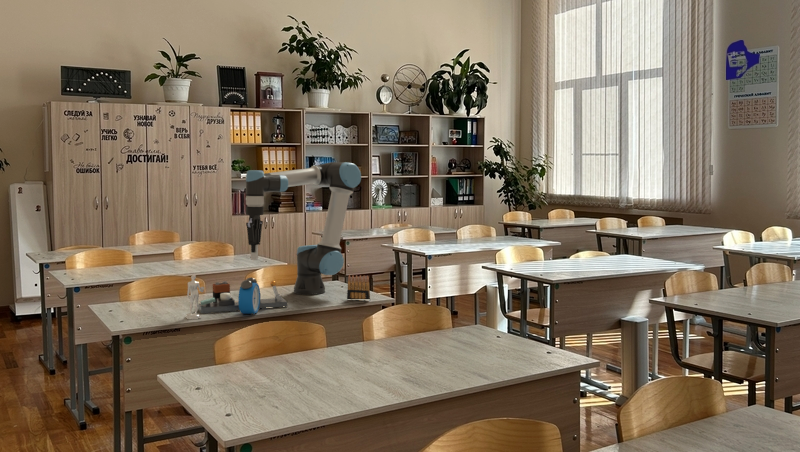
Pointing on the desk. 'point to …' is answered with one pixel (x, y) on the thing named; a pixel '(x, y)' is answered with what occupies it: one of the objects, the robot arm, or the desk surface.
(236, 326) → the desk surface
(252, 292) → the alarm clock
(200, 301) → the block
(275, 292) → the lever
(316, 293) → the robot arm
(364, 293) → the ammunition clip
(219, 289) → the battery
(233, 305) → the panel
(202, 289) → the figurine
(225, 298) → the button
